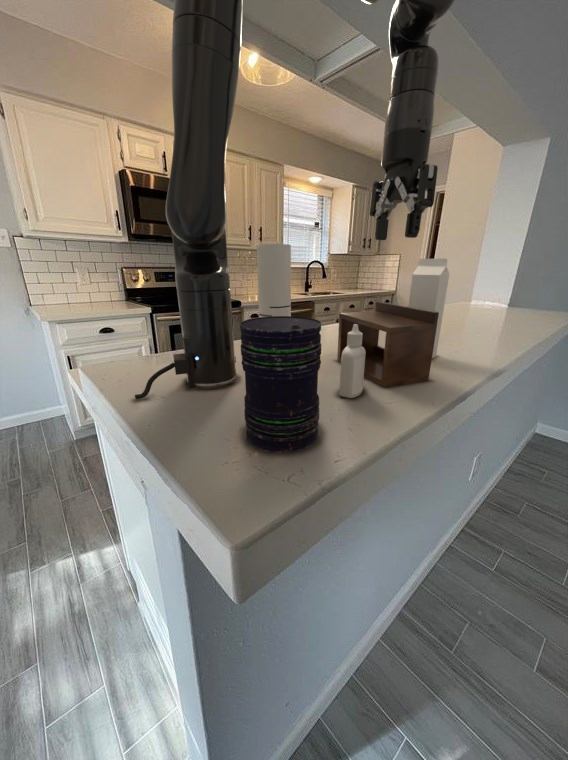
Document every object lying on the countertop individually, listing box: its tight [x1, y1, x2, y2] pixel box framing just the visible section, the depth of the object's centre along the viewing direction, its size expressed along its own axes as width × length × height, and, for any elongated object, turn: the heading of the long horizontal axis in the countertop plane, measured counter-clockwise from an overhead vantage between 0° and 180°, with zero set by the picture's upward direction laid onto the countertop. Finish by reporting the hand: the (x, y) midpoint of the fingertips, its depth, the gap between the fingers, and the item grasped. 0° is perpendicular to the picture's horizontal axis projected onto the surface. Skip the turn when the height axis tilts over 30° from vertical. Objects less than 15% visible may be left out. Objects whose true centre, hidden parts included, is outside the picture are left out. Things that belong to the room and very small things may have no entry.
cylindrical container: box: [256, 243, 292, 318], centre depth 72 cm, size 7×7×25 cm
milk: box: [407, 258, 450, 359], centre depth 74 cm, size 6×6×22 cm
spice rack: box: [336, 301, 439, 388], centre depth 66 cm, size 10×18×13 cm, turn 20°
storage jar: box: [239, 315, 322, 454], centre depth 41 cm, size 10×10×15 cm
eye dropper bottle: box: [338, 324, 365, 399], centre depth 54 cm, size 4×6×12 cm
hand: (395, 238), depth 60 cm, fingers open, 8 cm apart
